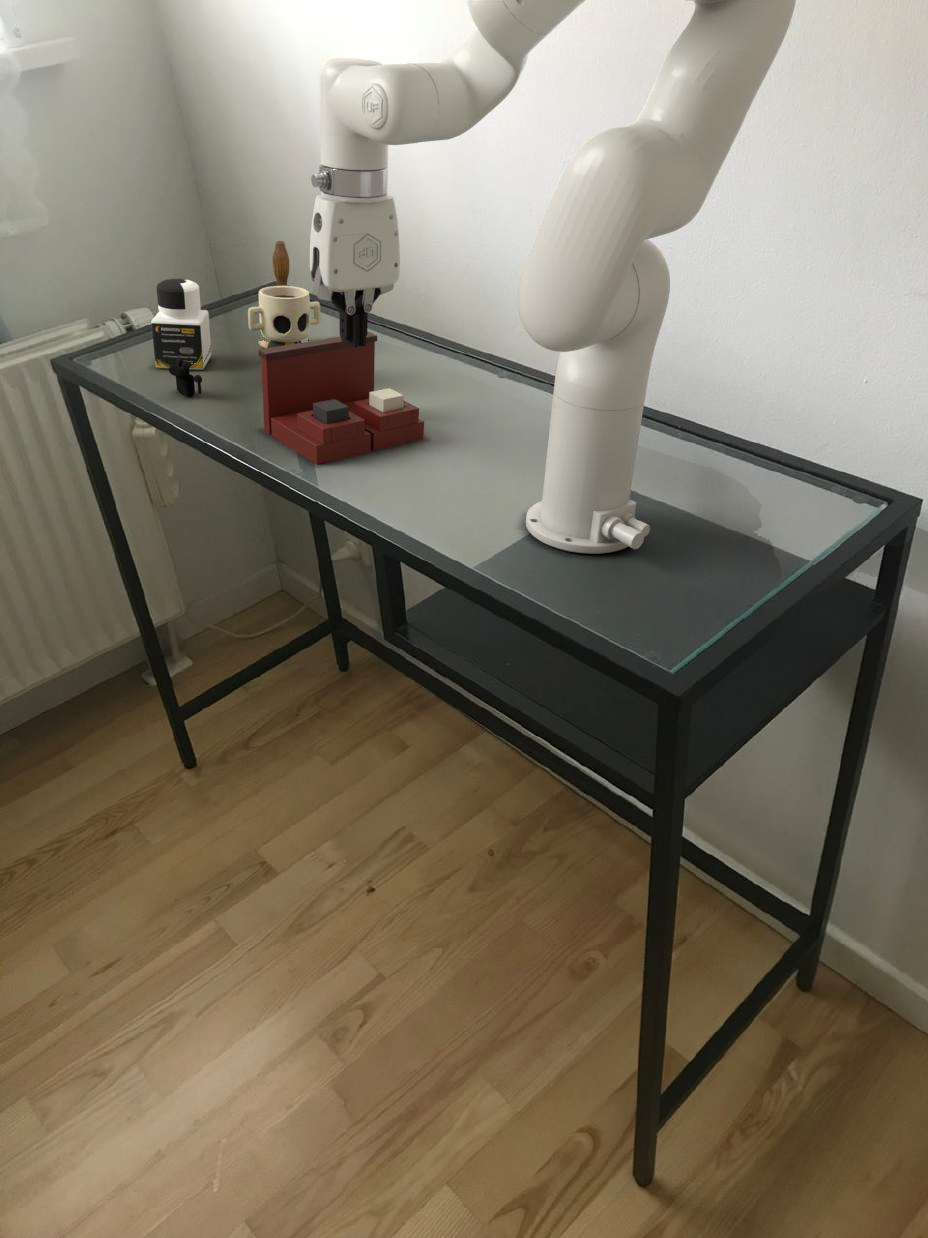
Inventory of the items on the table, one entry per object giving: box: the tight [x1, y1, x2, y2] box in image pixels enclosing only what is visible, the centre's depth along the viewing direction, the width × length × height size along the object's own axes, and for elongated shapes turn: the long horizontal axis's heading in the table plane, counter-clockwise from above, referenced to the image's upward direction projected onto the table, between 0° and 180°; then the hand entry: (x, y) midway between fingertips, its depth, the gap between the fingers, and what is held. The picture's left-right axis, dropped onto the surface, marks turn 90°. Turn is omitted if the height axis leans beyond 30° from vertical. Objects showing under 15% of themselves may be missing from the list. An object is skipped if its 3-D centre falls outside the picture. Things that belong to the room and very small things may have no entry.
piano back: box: [257, 331, 378, 435], centre depth 137 cm, size 2×17×11 cm, turn 129°
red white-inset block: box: [343, 398, 425, 452], centre depth 137 cm, size 11×8×4 cm
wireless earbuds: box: [168, 358, 203, 398], centre depth 144 cm, size 7×2×5 cm, turn 49°
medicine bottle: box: [150, 278, 212, 371], centre depth 155 cm, size 7×7×12 cm
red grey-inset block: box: [271, 410, 372, 466], centre depth 132 cm, size 11×8×4 cm
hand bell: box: [258, 240, 290, 349], centre depth 164 cm, size 8×8×16 cm
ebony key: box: [313, 399, 349, 425], centre depth 129 cm, size 3×3×2 cm
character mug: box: [247, 285, 321, 348], centre depth 150 cm, size 11×7×13 cm, turn 121°
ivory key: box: [369, 387, 405, 412], centre depth 134 cm, size 3×3×2 cm
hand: (353, 343), depth 127 cm, fingers closed
